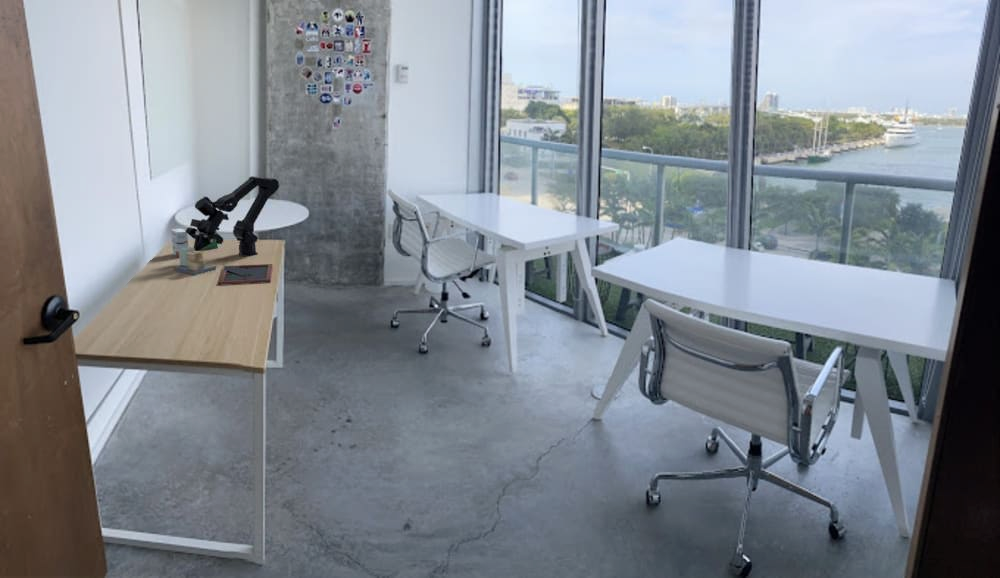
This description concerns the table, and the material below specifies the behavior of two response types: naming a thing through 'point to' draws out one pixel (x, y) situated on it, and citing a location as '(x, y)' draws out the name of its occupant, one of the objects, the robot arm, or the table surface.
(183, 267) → the key base
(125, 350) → the table surface
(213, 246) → the coffee box
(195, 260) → the wooden button block
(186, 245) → the ink box
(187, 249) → the two-stud toy brick
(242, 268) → the picture frame
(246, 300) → the table surface
